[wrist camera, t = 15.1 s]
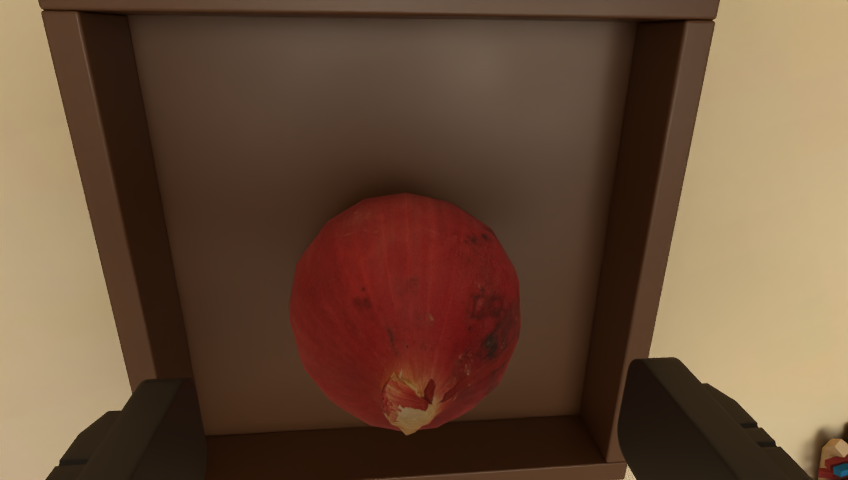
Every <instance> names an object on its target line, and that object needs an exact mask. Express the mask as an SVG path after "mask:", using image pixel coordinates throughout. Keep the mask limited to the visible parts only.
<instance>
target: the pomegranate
mask: <svg viewBox="0 0 848 480" xmlns="http://www.w3.org/2000/svg"><path fill="white" fill-rule="evenodd" d="M289 315H290V324H291V327H292V331H293V335H294V338H295V342H296V346H297V349H298V353H299V357H300V359H301V362H302V364H303V367H304V369H305V371H306V372H307V373H308V374H309V375H310V377H311V378H312V379H313V380H314V382H315V383H316V384H317V385H318V387H319V388H320V389H321V390H322V391H323V393H324V394H325V395H326V396H327V398H328V399H330V400H331V401H332V402H333V403H334V404H335V405H337V406H339V407H340V408H342V409H344V410H345V411H347V412H349V413H350V414H352V415H354V416H355V417H357V418H359V419H360V420H362V421H364V422H365V423H367V424H369V425H370V426H375V427H381V428H386V429H392V430H397V431H403V433H404V434H405V435H409V434H412V433H414V432H416V431H417V430H422V429H430V428H437V427H439V426H441V425H443V424H445V423H447V422H449V421H451V420H453V419H456V418H458V417H460V416H461V415H463V414H465V413H467V412H469V411H471V410H472V409H473V408H474V407H476V406H477V405H478V404H479V403H480V402H481V401H482V400H483V399H484V398H485V397H486V396H487V395H488V394H490V393H491V392H492V391H493V390H494V389H495V388H496V387H497V386H498V385H499V383H500V381H501V379H502V378H503V375H504V373H505V371H506V368H507V366H508V364H509V361H510V359H511V356H512V354H513V352H514V349H515V347H516V344H517V342H518V340H519V334H520V329H521V315H520V288H519V279H518V276H517V273H516V270H515V267H514V265H513V264H512V262H511V260H510V259H509V257H508V255H507V254H506V252H505V250H504V249H503V247H502V245H501V244H500V242H499V240H498V239H497V237H496V235H495V234H494V232H493V230H492V229H491V228H490V227H489V226H487V225H485V224H484V223H482V222H481V221H479V220H478V219H476V218H475V217H473V216H471V215H470V214H468V213H467V212H465V211H464V210H462V209H460V208H459V207H457V206H456V205H454V204H453V203H450V202H447V201H444V200H439V199H434V198H430V197H425V196H420V195H416V194H411V193H406V192H405V193H398V194H392V195H386V196H379V197H373V198H366V199H363V200H362V201H360V202H358V203H357V204H355V205H353V206H352V207H350V208H348V209H347V210H345V211H343V212H342V213H340V214H338V215H337V216H335V217H333V218H331V219H330V220H329V221H328V222H327V223H326V224H325V225H324V227H323V228H322V229H321V230H320V232H319V233H318V235H317V236H316V237H315V239H314V240H313V241H312V243H311V244H310V245H309V246H308V248H307V249H306V250H305V252H304V253H303V255H302V256H301V258H300V259H299V261H298V262H297V264H296V268H295V274H294V280H293V285H292V291H291V296H290V302H289Z"/></svg>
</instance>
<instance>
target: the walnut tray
mask: <svg viewBox="0 0 848 480" xmlns="http://www.w3.org/2000/svg"><path fill="white" fill-rule="evenodd" d="M38 1H39V5H40V7H41V9H43V10H44V11H42V12H41V14H42V19H43V23H44V27H45V31H46V35H47V39H48V44H49V48H50V52H51V56H52V60H53V64H54V69H55V73H56V77H57V81H58V85H59V89H60V94H61V98H62V102H63V106H64V110H65V115H66V119H67V123H68V127H69V131H70V135H71V140H72V144H73V148H74V152H75V156H76V160H77V165H78V169H79V173H80V177H81V181H82V185H83V190H84V194H85V198H86V202H87V206H88V211H89V215H90V219H91V223H92V227H93V231H94V236H95V240H96V244H97V248H98V252H99V256H100V261H101V265H102V269H103V273H104V277H105V281H106V286H107V290H108V294H109V298H110V302H111V306H112V311H113V315H114V319H115V323H116V327H117V332H118V336H119V340H120V344H121V348H122V352H123V357H124V361H125V365H126V369H127V373H128V377H129V382H130V386H131V390H132V394H133V393H134V391H135V390H136V388H137V387H138V385H139V384H140V383H141V382H142V381H143V380H145V379H164V378H187V377H190V378H192V379H193V381H194V383H195V386H196V390H197V395H198V401H199V406H200V411H201V417H202V422H203V428H204V433H205V438H206V444H207V465H206V472H205V477H204V480H620V479H624V478H625V473H626V468H627V462H626V461H625V459H624V457H623V455H622V452H621V449H620V446H619V441H618V434H617V425H618V418H619V413H620V408H621V403H622V397H623V392H624V387H625V382H626V376H627V371H628V367H629V365H630V363H631V361H632V360H634V359H645V358H648V356H649V351H650V346H651V341H652V336H653V331H654V326H655V321H656V316H657V311H658V306H659V301H660V296H661V291H662V286H663V281H664V276H665V271H666V266H667V261H668V256H669V251H670V246H671V241H672V236H673V231H674V226H675V221H676V216H677V211H678V206H679V201H680V196H681V191H682V186H683V181H684V176H685V171H686V166H687V161H688V156H689V151H690V146H691V141H692V136H693V131H694V126H695V121H696V116H697V111H698V106H699V101H700V96H701V91H702V86H703V81H704V76H705V71H706V66H707V61H708V56H709V51H710V46H711V41H712V36H713V31H714V26H715V22H714V21H712V20H713V19H715V18H716V16H717V12H718V7H719V2H720V0H38ZM405 192H406V193H411V194H416V195H420V196H425V197H430V198H434V199H439V200H444V201H447V202H450V203H453V204H454V205H456V206H457V207H459V208H460V209H462V210H464V211H465V212H467V213H468V214H470V215H471V216H473V217H475V218H476V219H478V220H479V221H481V222H482V223H484V224H485V225H487V226H489V227H490V228H491V229H492V230H493V232H494V234H495V235H496V237H497V239H498V240H499V242H500V244H501V245H502V247H503V249H504V250H505V252H506V254H507V255H508V257H509V259H510V260H511V262H512V264H513V265H514V267H515V270H516V273H517V276H518V279H519V288H520V315H521V329H520V334H519V340H518V342H517V344H516V347H515V349H514V352H513V354H512V356H511V359H510V361H509V364H508V366H507V368H506V371H505V373H504V375H503V378H502V379H501V381H500V383H499V385H498V386H497V387H496V388H495V389H494V390H493V391H492V392H491V393H490V394H488V395H487V396H486V397H485V398H484V399H483V400H482V401H481V402H480V403H479V404H478V405H477V406H476V407H474V408H473V409H472V410H471V411H469V412H467V413H465V414H463V415H461V416H460V417H458V418H456V419H453V420H451V421H449V422H447V423H445V424H443V425H441V426H439V427H437V428H430V429H422V430H417V431H416V432H414V433H412V434H409V435H405V434H404V433H403V431H397V430H392V429H386V428H381V427H375V426H370V425H369V424H367V423H365V422H364V421H362V420H360V419H359V418H357V417H355V416H354V415H352V414H350V413H349V412H347V411H345V410H344V409H342V408H340V407H339V406H337V405H335V404H334V403H333V402H332V401H331V400H330V399H328V398H327V396H326V395H325V394H324V393H323V391H322V390H321V389H320V388H319V387H318V385H317V384H316V383H315V382H314V380H313V379H312V378H311V377H310V375H309V374H308V373H307V372H306V371H305V369H304V367H303V364H302V362H301V359H300V357H299V353H298V349H297V346H296V342H295V338H294V335H293V331H292V327H291V324H290V315H289V302H290V296H291V291H292V285H293V280H294V274H295V268H296V264H297V262H298V261H299V259H300V258H301V256H302V255H303V253H304V252H305V250H306V249H307V248H308V246H309V245H310V244H311V243H312V241H313V240H314V239H315V237H316V236H317V235H318V233H319V232H320V230H321V229H322V228H323V227H324V225H325V224H326V223H327V222H328V221H329V220H330V219H331V218H333V217H335V216H337V215H338V214H340V213H342V212H343V211H345V210H347V209H348V208H350V207H352V206H353V205H355V204H357V203H358V202H360V201H362V200H363V199H366V198H373V197H379V196H386V195H392V194H398V193H405Z"/></svg>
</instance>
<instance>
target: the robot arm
mask: <svg viewBox="0 0 848 480" xmlns="http://www.w3.org/2000/svg"><path fill="white" fill-rule="evenodd" d="M617 434H618V441H619V446H620V449H621V452H622V455H623V457H624V459H625V461H626V462H627V464H628V466H629V468H630V469H631V471H632V473H633V474H634V476H635V478H636V480H812V479H811V478H810V476H809V475H808V474H807V473H806V472H805V471H804V470H803V469H802V468H801V467H800V466H799V465H798V464H797V463H796V462H795V461H794V460H793V459H792V458H791V457H790V456H789V455H788V454H787V453H786V452H785V451H784V450H783V449H782V448H781V447H777V446H776V444H775V441H774V440H773V439H772V438H771V437H770V436H769V435H768V434H767V432H766V431H765V430H764V429H763V428H758V426H757V422H756V421H755V420H754V419H753V418H752V417H751V416H750V415H749V414H748V413H747V412H746V411H745V410H744V409H743V408H742V407H741V406H740V405H739V404H738V403H737V402H736V401H735V400H733V399H732V398H730V397H728V396H727V395H725V394H724V393H722V392H720V391H719V390H717V389H716V388H714V387H712V386H711V385H709V384H708V383H703V384H702V383H701V382H700V381H699V380H698V379H697V378H696V377H695V376H694V375H693V374H692V373H691V372H690V371H689V369H688V368H687V367H686V366H685V365H684V364H683V363H682V362H681V361H680V360H679V359H677V358H674V357H668V358H645V359H634V360H632V361H631V363H630V365H629V367H628V371H627V376H626V382H625V387H624V392H623V397H622V403H621V408H620V413H619V418H618V425H617ZM206 465H207V444H206V438H205V433H204V428H203V422H202V417H201V411H200V406H199V401H198V395H197V390H196V386H195V383H194V381H193V379H192V378H190V377H187V378H164V379H145V380H143V381H142V382H141V383H140V384H139V385H138V387H137V388H136V390H135V391H134V393H133V394H132V396H131V397H130V399H129V400H128V402H127V403H126V405H125V406H124V408H123V409H122V411H108V412H107V413H105V414H104V415H103V416H102V417H100V418H99V419H98V420H96V421H95V422H94V423H93V424H91V425H90V426H89V427H88V428H86V429H85V430H84V431H82V432H81V433H80V434H79V435H78V436H77V438H76V439H75V440H74V442H73V443H72V444H71V446H70V447H69V449H68V450H67V451H66V453H65V454H64V455H63V457H62V458H61V459H60V463H59V466H55V468H54V469H53V470H52V472H51V473H50V474H49V476H48V477H47V479H46V480H204V477H205V472H206Z"/></svg>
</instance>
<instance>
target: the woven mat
mask: <svg viewBox="0 0 848 480" xmlns="http://www.w3.org/2000/svg"><path fill="white" fill-rule="evenodd" d="M818 475H819V476H818V480H839V478H844V477H848V444H847V443H846V442H844V441H843V440H842V439H831V440H830V441H829V442H828V443H827V444H826V445H825V446H824V447H823V448H822V453H821V460H820V468H818ZM840 480H848V478H845V479H840Z"/></svg>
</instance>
